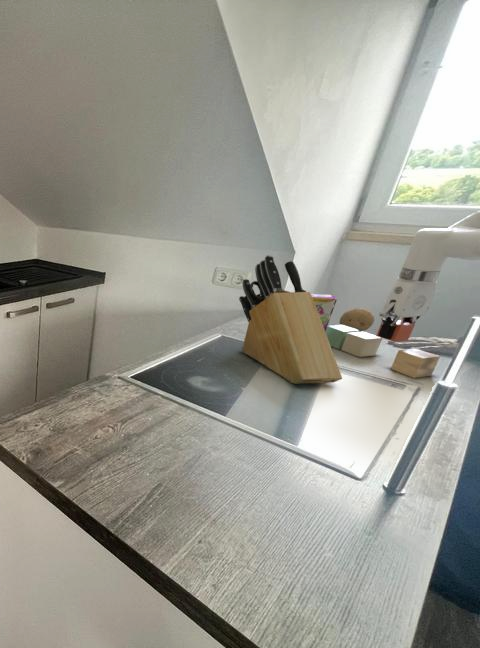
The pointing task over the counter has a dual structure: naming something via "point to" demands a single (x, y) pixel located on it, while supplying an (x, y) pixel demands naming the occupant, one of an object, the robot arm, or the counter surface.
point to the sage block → (338, 334)
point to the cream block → (361, 344)
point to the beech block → (415, 363)
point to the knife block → (286, 328)
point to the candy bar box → (324, 307)
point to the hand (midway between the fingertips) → (392, 336)
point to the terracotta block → (400, 331)
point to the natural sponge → (357, 319)
